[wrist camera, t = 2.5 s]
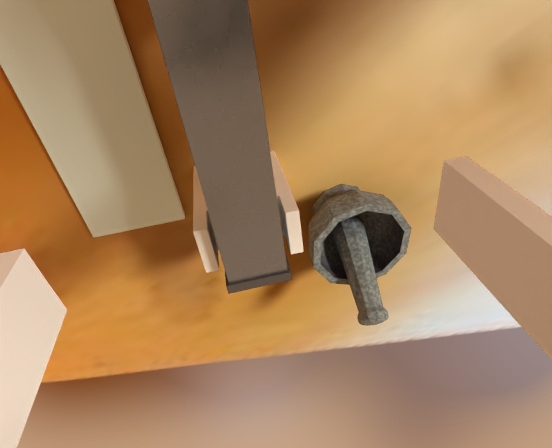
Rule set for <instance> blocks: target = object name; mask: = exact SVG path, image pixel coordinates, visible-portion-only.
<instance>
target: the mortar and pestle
mask: <svg viewBox="0 0 552 448" xmlns="http://www.w3.org/2000/svg"><path fill="white" fill-rule="evenodd" d="M410 233H411V227H410V225H409V224H408V223H407V221H406V220H405V219H404V217H403V216H402V214H401V213H400V212H399V210H398V209H397V208H396V206H395V205H394V204H393V203H392V201H390V200H389V199H388V198H386V197H385V196H384V195H382V194H376V193H370V192H364V191H360V189H359V188H358V187H356V186H350V185H344V184H340V185H337V186H335V187H333V188H330V189H328V190H325V191H324V192H323V193H322V194H321V195H320V197H319V198H318V199H317V201H316V202H315V203H314V204H313V217H312V219H311V221H310V223H309V255H310V259H311V262H312V265H313V267H314V268H315V269H316V270H317V271H318V272H319V273H320V274H321V275H322V276H323V277H325V278H326V279H327V280H328V281H329V282H330V283H336V284H348V285H350V287H351V290H352V293H353V296H354V299H355V302H356V305H357V308H358V311H359V314H358V317H357V318H358V321H359V323H360V324H361V325H375V324H379V323H382V322H384V321H385V320H387V319H388V317H389V316H388V312H387V310H386V309H385V308H384V307H383V304H382V300H381V296H380V291H379V287H378V283H377V278H378V277H380V276H383V275H385V274H386V273H387V272H388V271H389V270H390V269H391V268H392V267H393V266H394V265H395V264H396V263H397V262H398V261H399V260H400V259H401V258H402V257H403V256H404V255H405V254H406V252H407V247H408V242H409V238H410Z"/></svg>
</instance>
